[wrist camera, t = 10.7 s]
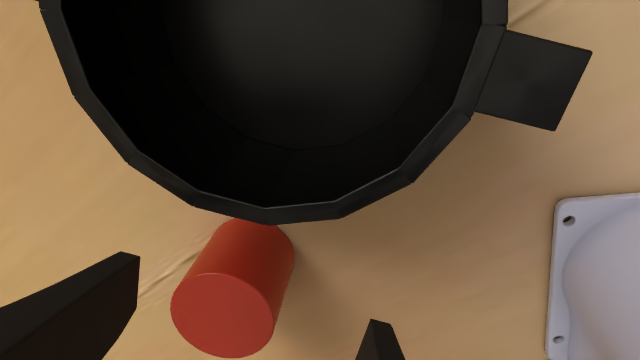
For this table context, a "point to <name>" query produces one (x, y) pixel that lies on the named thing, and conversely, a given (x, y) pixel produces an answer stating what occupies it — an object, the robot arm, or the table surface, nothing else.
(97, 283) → the robot arm
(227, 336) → the tin
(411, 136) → the cooker
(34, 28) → the table surface
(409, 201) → the table surface
